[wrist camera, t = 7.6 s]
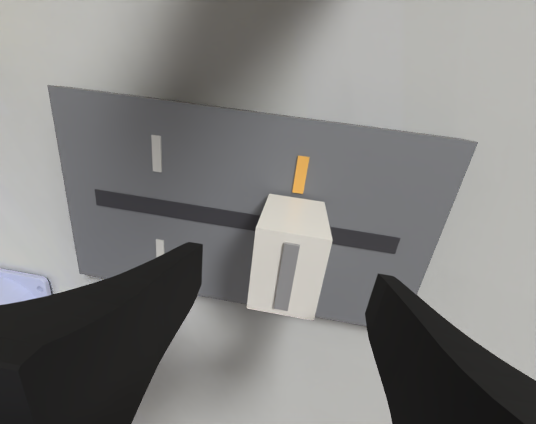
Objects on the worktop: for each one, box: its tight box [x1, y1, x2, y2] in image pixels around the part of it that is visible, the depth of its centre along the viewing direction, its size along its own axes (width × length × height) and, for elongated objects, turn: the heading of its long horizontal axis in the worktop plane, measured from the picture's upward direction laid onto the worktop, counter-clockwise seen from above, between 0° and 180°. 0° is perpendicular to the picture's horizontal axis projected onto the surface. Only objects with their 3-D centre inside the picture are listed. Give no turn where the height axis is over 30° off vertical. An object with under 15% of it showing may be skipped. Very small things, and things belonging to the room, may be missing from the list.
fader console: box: [48, 85, 478, 326], centre depth 17 cm, size 12×22×2 cm, turn 83°
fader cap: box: [247, 194, 333, 321], centre depth 13 cm, size 4×3×5 cm
